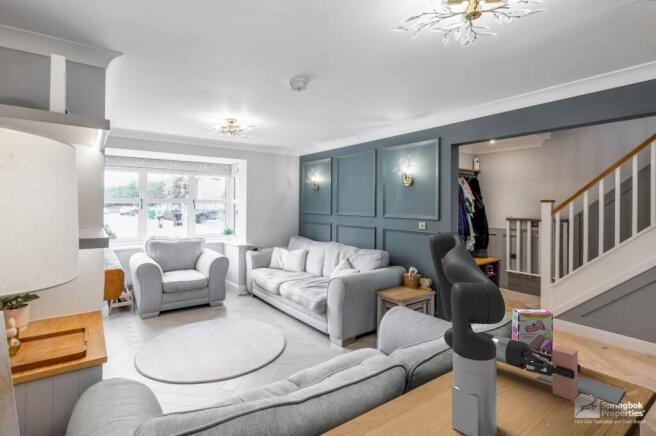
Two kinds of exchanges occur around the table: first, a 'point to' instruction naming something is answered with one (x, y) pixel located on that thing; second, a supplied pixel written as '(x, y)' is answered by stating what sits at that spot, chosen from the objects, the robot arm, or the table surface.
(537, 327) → the candy bar box
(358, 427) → the table surface
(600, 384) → the mat
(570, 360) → the block
